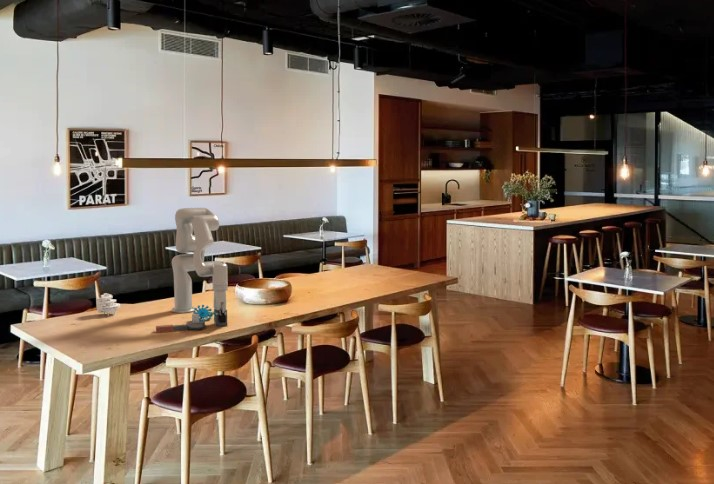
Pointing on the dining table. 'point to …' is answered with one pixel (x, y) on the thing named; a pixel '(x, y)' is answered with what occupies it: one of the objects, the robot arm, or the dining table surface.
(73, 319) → the dining table surface
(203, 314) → the blue spiky virus model
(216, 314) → the socket
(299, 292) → the dining table surface
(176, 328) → the ratchet
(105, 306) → the mechanical part
